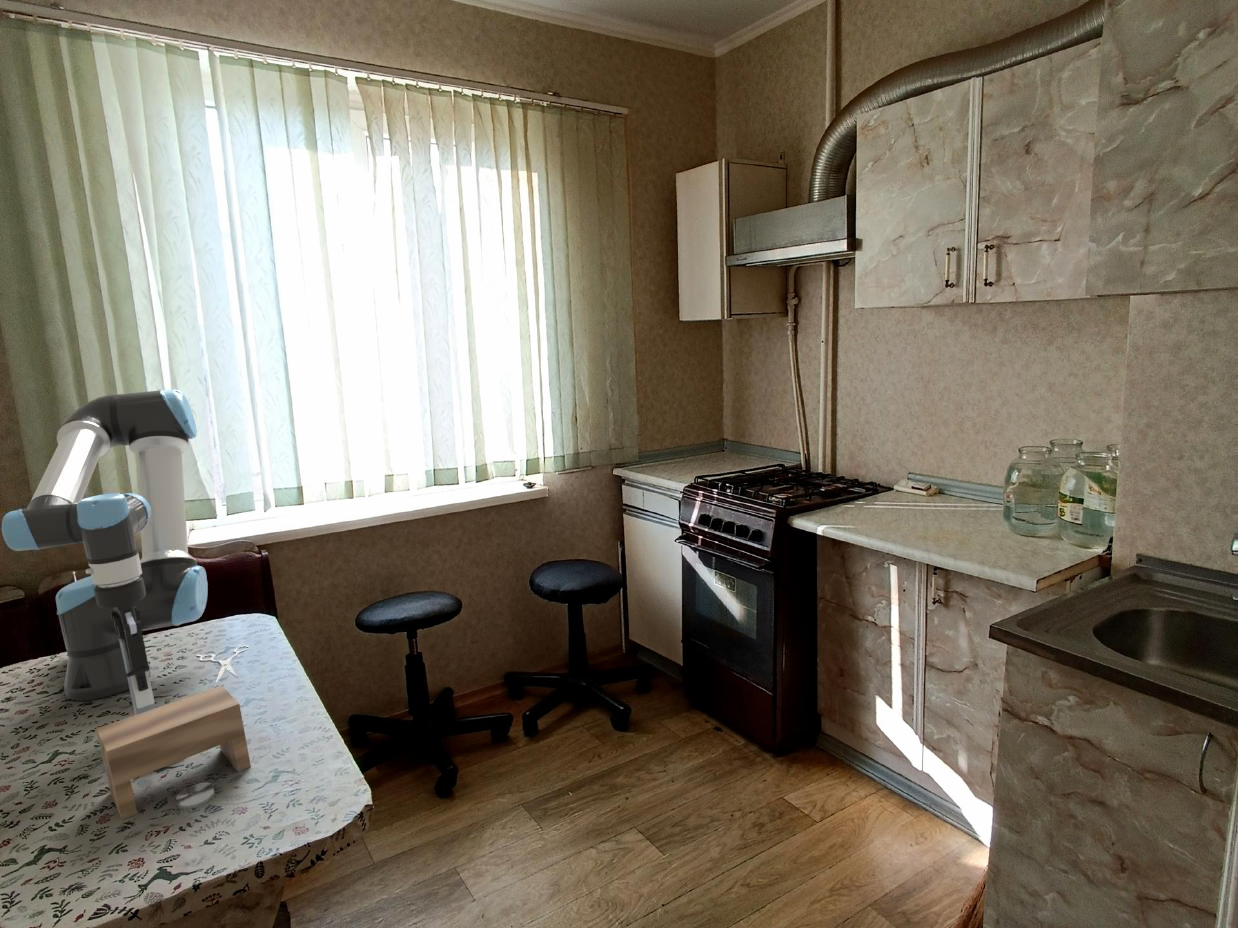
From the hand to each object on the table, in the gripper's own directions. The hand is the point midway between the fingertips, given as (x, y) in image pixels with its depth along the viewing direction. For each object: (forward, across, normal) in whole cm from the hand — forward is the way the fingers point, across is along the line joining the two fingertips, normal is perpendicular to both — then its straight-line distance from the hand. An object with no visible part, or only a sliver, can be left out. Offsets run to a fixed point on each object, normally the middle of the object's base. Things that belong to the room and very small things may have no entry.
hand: (143, 701), depth 140 cm
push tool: (+3, +8, 0) cm, 9 cm away
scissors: (+6, -19, +18) cm, 27 cm away
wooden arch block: (+5, +26, 0) cm, 27 cm away
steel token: (+5, +34, 0) cm, 35 cm away
